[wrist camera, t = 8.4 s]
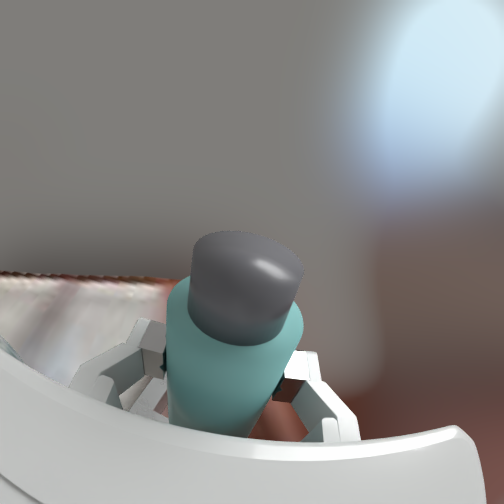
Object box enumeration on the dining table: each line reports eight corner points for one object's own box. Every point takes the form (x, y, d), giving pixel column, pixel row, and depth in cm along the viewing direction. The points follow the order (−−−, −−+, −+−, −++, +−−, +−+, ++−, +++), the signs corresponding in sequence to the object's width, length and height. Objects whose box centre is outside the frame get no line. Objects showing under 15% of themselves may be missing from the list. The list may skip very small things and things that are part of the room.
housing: (130, 427, 20) (125, 414, 18) (176, 361, 28) (177, 344, 27) (230, 473, 18) (236, 465, 17) (260, 395, 27) (267, 380, 25)
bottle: (155, 435, 11) (136, 265, 6) (189, 380, 15) (210, 212, 10) (233, 469, 11) (318, 334, 6) (257, 407, 15) (328, 250, 9)
